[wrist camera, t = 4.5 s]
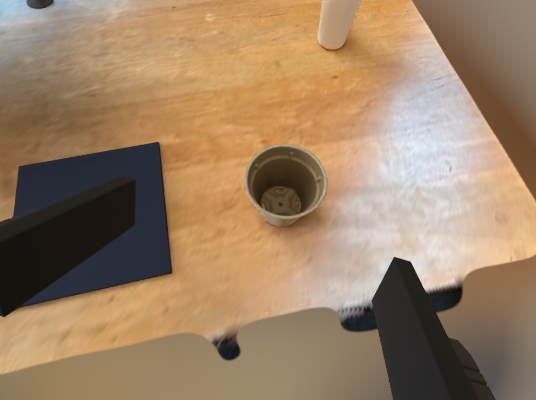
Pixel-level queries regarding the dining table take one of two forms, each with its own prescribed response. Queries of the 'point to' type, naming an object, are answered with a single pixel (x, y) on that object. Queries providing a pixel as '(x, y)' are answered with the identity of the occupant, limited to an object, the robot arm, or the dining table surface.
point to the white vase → (336, 22)
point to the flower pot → (285, 183)
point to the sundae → (38, 3)
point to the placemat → (125, 246)
